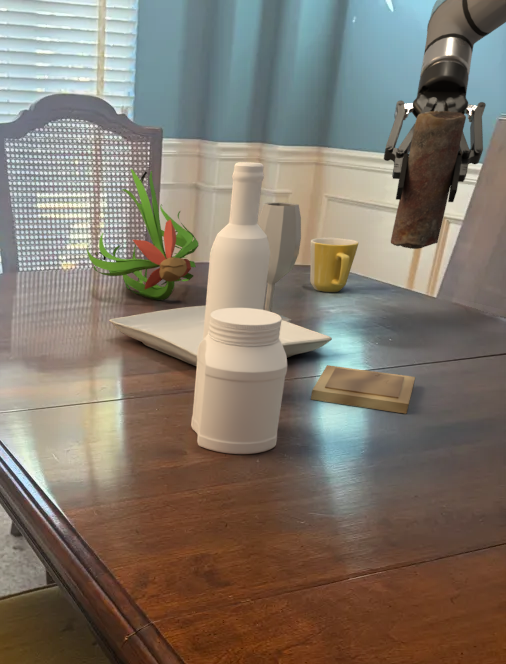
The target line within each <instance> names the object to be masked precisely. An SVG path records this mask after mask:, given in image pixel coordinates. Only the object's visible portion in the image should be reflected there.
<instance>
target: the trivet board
mask: <svg viewBox="0 0 506 664" xmlns="http://www.w3.org/2000/svg"><path fill="white" fill-rule="evenodd" d="M415 381H416V377H415V376H411V375H404V374H403V375H402V374H396V373H390V372H389V373H388V372H381V371H372V370H367V369H358V368H351V367H343V366H337V365H329V364H327V365H326V366H325V367H324V369H323V371H322V373H321V374H320V375H319V377H318V379H317V381H316V382H315V385H314V386H313V387H312V390H311V395H310V400H312V401H317V402H318V401H319V402H324V403H329V404H331V403H332V404H336V405H337V404H338V405H343V406H352V407H359V408H365V409H371V410H379V411H385V412H391V413H398V414H403V415H404V414H405V415H406V414H407V413H408V409H409V406H410V401H411V397H412V393H413V389H414V384H415Z"/></svg>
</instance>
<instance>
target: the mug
mask: <svg viewBox="0 0 506 664" xmlns="http://www.w3.org/2000/svg"><path fill="white" fill-rule="evenodd" d="M358 246H359V241H358V240H354V239H350V238H349V239H348V238H342V237H341V238H340V237H339V238H338V237H318V238H313V239H310V246H309V247H310V249H309V250H310V251H309V252H310V257H309V258H310V281H309V282H310V284H311V286H312V287H313V289H314V290H315V291H318V292H321V293H322V292H323V293H338V292H340V291H341V290H342V289H343V288H345V286H346V285H347V282H348V279H349V275H350V273H351V270H352V267H353V263H354V259H355V256H356V253H357V250H358Z"/></svg>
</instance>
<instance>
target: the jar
mask: <svg viewBox="0 0 506 664" xmlns="http://www.w3.org/2000/svg"><path fill="white" fill-rule="evenodd" d="M279 315H280V314H277V313H275V312H273V311H272V312H269V311H265V310H264V309H263V310H260V309H252V308H224V309H219V310H215V311H213V312H212V313H211V314H210V322H209V323H210V326H209V332H208V335H207V336H206V337H205V338H204V339H203V340H202V342H201V343H200V344H199V347H198V350H197V366H196V371H195V383H194V395H193V406H192V416H191V424H190V427H191V429H192V431H194V432H195V433H196V435H197V438H196V439H197V440H196V442H197V446H199V447H201V448H203V449H205V450H209V451H212V452H213V451H214V452H217V453H222V454H230V455H254V454H259V453H264V452H267V451H269V450H272V449H274V448H275V447H276V445H277V442H278V441H277V440H278V429H279V423H280V422H279V421H280V414H281V409H282V407H281V406H282V400H283V394H284V387H285V380H286V376H287V373H288V372H287V371H288V359H287V357H286V353H285V350H284V348H283V345H282V343H281V341H280V338H279V336H280V330H281V329H280V326H281V321H282V318H281V317H280V316H279Z"/></svg>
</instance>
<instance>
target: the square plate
mask: <svg viewBox="0 0 506 664" xmlns="http://www.w3.org/2000/svg"><path fill="white" fill-rule="evenodd" d="M205 309H206V304H205V305H196V306H186V307H177V308H172V309H163V310H157V311H151V312H145V313H144V312H143V313H139V314H138V313H137V314H134V315H133V314H132V315H128V316H121V317H115V318H110V319H109V320H108V321H109V322H110V323H111V324H112V325H113V326H114V327H115V328H116V330H118V331H119V333H122V334H123V335H125V336H127V337H130V338H131V339H134V340H135V341H139V342H142V344H143V345H144V346H146V347H149V348H151V349H153V350H155V351H156V350H157V351H158V352H161V353H163V354H165V355H168V356H170V357H173V358H175V359H178V360H180V361H182V362H185V363H187V364H188V365H189V364H190V365H192V366H194V367H197V350H198V347H199V344H200V343H201V342H202V340H203V333H204V321H205ZM280 329H281V330H280V336H279V338H280V341H281V343H282V345H283V348H284V350H285V353H286V357H287V358H288V359H289V358H290V357H293V356H295V355H299V354H304V353H308V352H312V351H315V350H318V349H320V348H322V347H324V346H325V345H327V344H328V343H329V342H331V341H332V340H333V338H332V337H331V336H329V335H327V334H323V333H320V332H317V331H315V330H311V329H310V328H306V327H303V326H300V325H297V324H295V323H292V322H291V323H289V322H287V321H284V320H282V321H281V326H280Z"/></svg>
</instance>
